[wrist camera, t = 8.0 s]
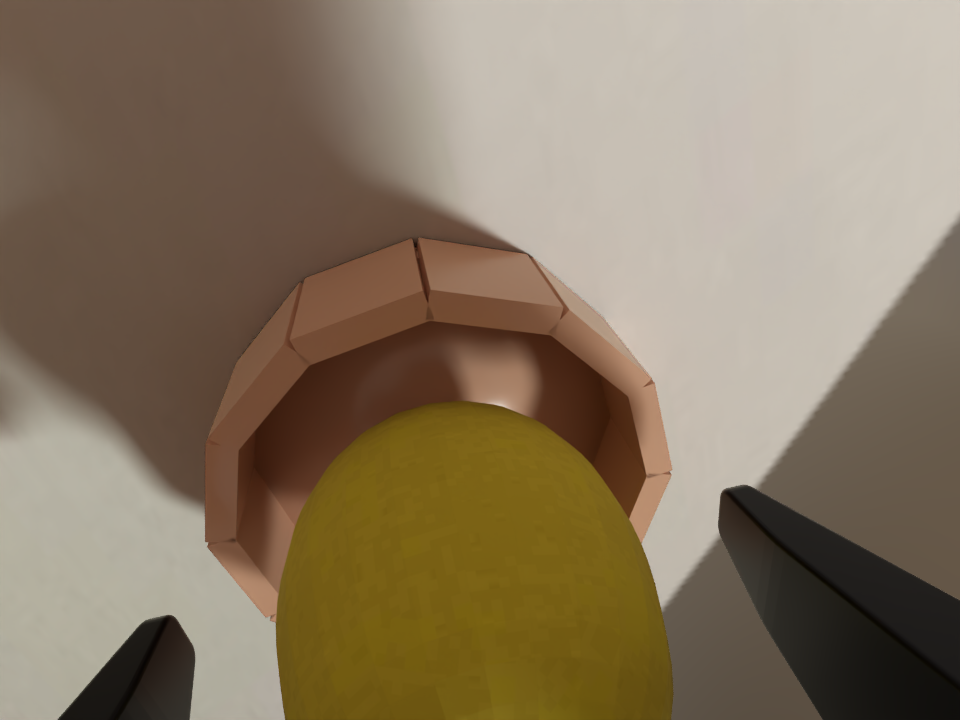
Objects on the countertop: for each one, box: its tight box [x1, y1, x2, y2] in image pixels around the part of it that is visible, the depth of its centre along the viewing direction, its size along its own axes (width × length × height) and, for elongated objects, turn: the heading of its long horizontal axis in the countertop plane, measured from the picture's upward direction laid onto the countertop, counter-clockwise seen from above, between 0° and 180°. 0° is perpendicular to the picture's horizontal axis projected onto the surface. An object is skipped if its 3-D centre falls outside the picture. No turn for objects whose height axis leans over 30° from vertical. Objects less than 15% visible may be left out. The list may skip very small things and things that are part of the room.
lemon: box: [276, 400, 673, 720], centre depth 9 cm, size 6×6×8 cm
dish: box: [205, 238, 672, 623], centre depth 12 cm, size 8×8×2 cm
